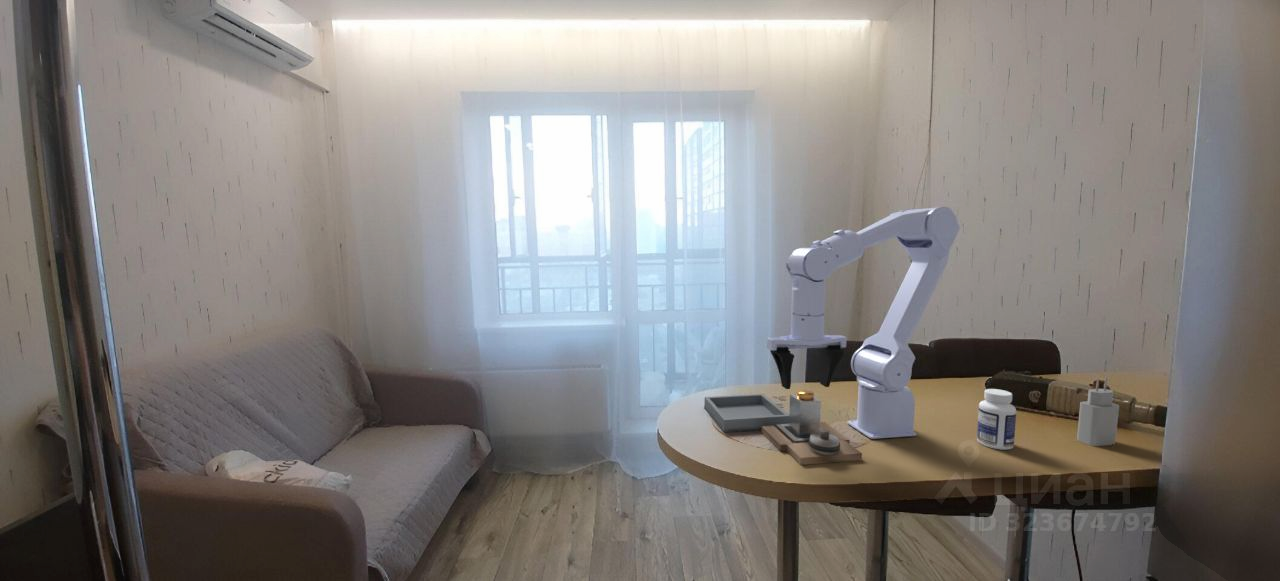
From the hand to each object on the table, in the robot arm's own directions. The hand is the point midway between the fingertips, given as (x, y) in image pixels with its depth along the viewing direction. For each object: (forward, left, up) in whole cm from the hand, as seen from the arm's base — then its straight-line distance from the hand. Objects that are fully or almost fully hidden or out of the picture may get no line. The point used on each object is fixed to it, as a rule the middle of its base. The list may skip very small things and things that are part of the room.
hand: (805, 386), depth 87 cm
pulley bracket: (0, +2, -10) cm, 10 cm away
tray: (+7, -12, -10) cm, 17 cm away
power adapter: (-52, +9, -10) cm, 54 cm away
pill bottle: (-33, +7, -10) cm, 35 cm away
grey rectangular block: (0, 0, -10) cm, 10 cm away
